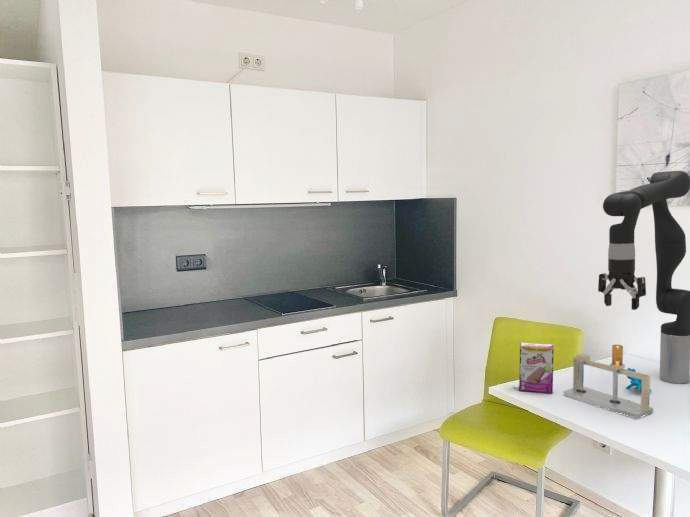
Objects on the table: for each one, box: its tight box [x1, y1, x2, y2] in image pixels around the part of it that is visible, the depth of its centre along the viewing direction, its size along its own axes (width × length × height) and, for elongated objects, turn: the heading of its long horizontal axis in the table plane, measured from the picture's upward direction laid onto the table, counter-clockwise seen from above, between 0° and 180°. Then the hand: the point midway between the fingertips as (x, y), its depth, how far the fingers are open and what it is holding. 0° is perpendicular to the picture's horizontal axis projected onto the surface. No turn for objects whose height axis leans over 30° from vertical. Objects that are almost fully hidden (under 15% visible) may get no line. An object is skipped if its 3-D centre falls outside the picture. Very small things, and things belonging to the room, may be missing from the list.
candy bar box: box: [518, 342, 555, 394], centre depth 183 cm, size 11×5×16 cm, turn 71°
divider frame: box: [563, 353, 654, 420], centre depth 169 cm, size 9×25×14 cm, turn 31°
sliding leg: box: [609, 344, 626, 401], centre depth 167 cm, size 3×3×18 cm
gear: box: [625, 367, 652, 392], centre depth 180 cm, size 11×6×10 cm
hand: (621, 307), depth 167 cm, fingers open, 8 cm apart
